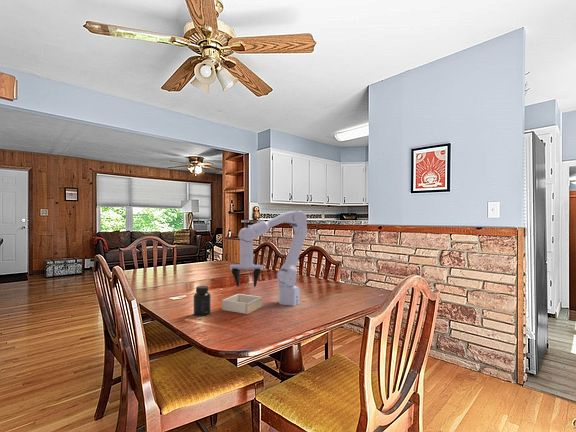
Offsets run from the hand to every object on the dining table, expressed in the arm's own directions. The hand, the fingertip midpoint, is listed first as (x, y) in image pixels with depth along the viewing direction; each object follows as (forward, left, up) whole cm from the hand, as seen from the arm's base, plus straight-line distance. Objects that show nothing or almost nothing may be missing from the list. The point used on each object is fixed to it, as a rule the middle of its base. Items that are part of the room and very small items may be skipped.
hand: (246, 286), depth 137 cm
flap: (-5, +1, -10) cm, 11 cm away
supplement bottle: (+12, +15, -11) cm, 22 cm away
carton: (+2, +1, -10) cm, 11 cm away
